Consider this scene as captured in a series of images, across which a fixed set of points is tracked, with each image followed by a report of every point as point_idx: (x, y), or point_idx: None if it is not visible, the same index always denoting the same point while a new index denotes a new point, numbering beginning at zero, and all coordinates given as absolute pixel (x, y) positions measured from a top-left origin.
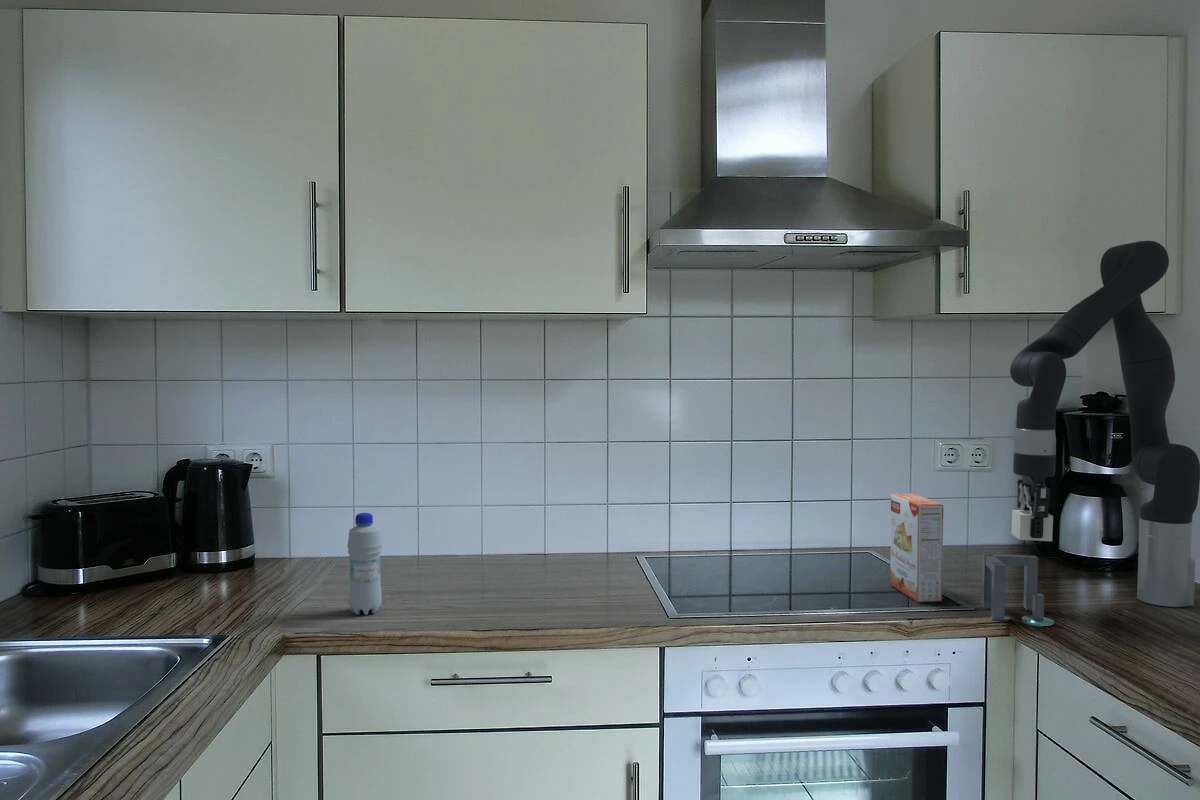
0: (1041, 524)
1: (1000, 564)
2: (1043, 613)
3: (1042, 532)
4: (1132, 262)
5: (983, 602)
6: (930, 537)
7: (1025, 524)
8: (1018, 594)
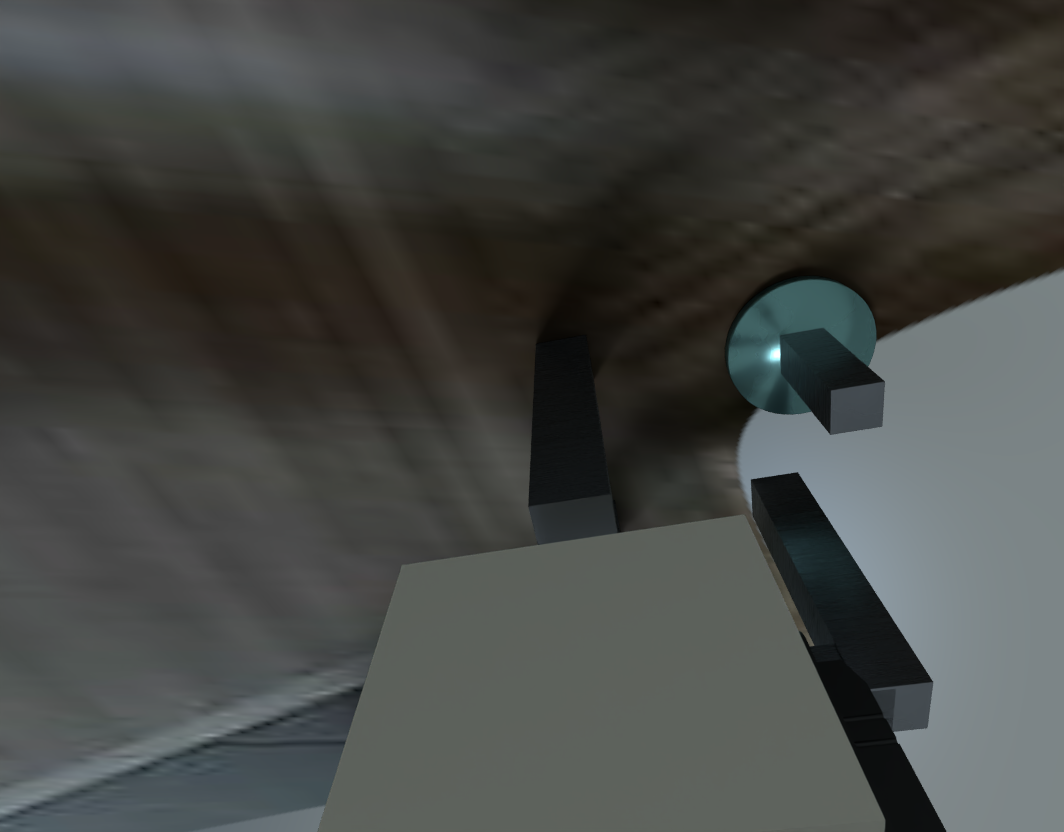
0: (927, 802)
1: (915, 703)
2: (840, 343)
3: (822, 680)
4: None
5: None
6: None
7: None
8: (272, 393)
